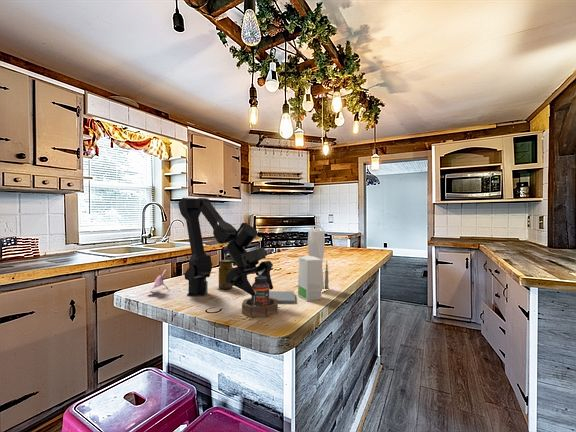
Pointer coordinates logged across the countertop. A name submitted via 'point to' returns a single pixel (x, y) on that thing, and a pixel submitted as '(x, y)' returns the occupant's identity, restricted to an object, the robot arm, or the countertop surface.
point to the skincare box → (310, 278)
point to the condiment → (223, 271)
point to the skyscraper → (318, 249)
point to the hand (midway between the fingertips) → (263, 291)
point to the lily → (159, 282)
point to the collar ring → (260, 308)
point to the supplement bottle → (260, 292)
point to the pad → (283, 296)
